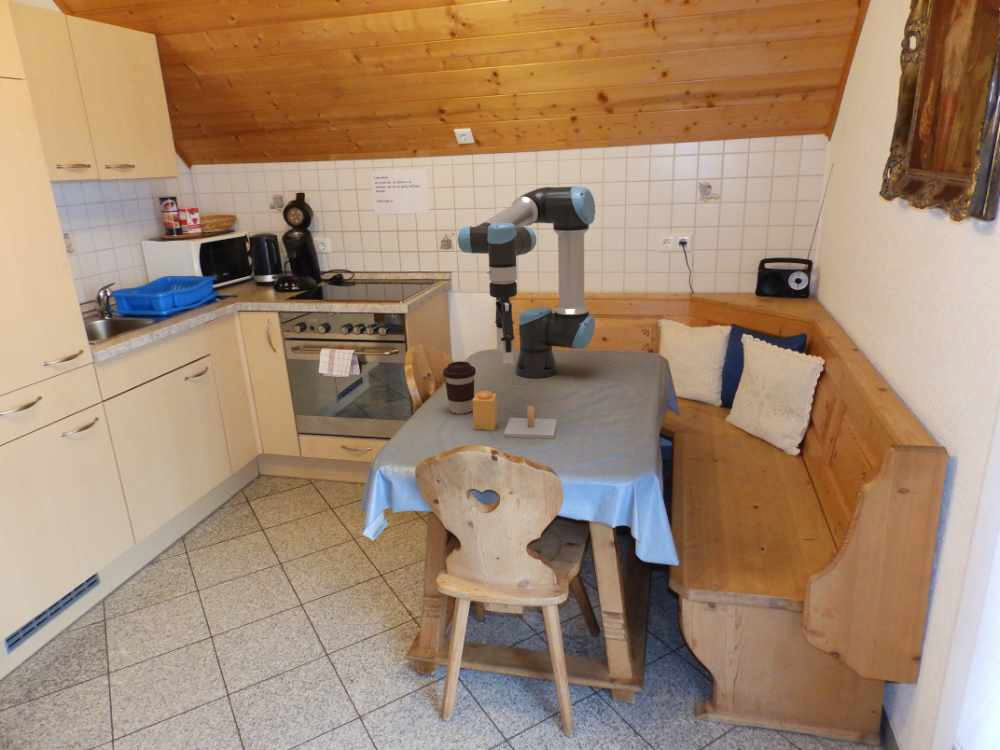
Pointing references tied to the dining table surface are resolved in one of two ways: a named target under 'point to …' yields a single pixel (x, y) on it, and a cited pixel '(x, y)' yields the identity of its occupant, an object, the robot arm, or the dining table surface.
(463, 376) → the coffee cup
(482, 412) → the orange toy brick
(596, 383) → the dining table surface
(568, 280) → the robot arm
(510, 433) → the white pegged board
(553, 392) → the dining table surface
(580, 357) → the dining table surface
